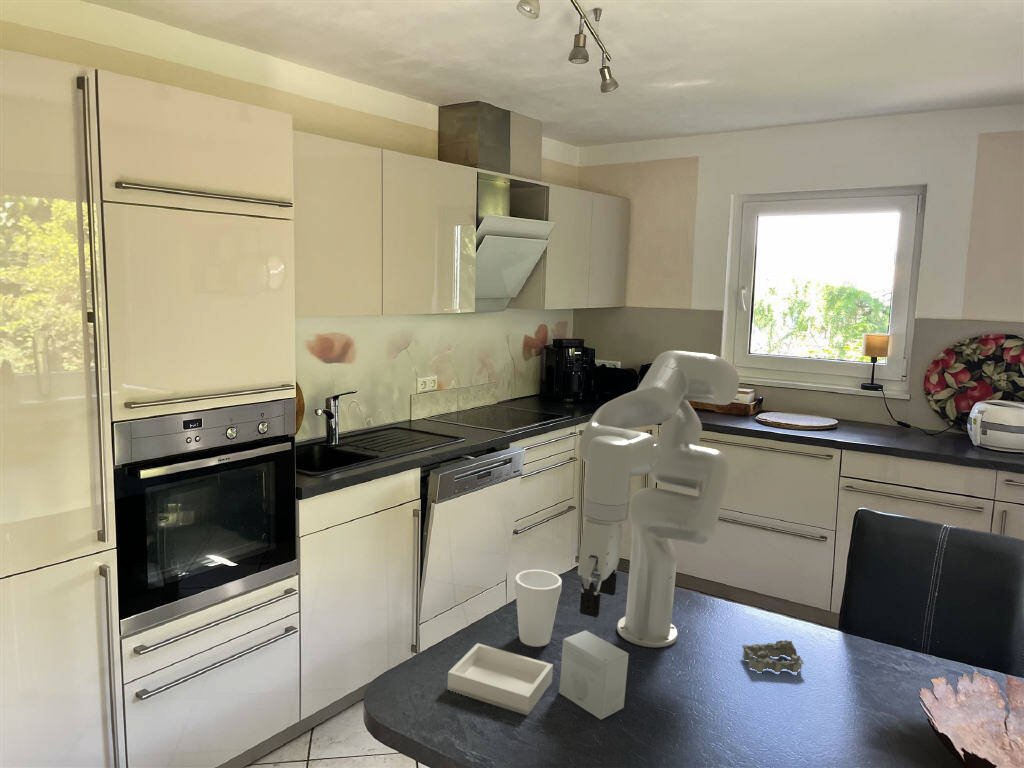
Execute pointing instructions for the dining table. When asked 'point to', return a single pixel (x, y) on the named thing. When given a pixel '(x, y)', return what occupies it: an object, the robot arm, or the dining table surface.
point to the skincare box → (593, 674)
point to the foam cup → (536, 605)
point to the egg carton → (772, 650)
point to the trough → (501, 678)
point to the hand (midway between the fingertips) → (597, 603)
